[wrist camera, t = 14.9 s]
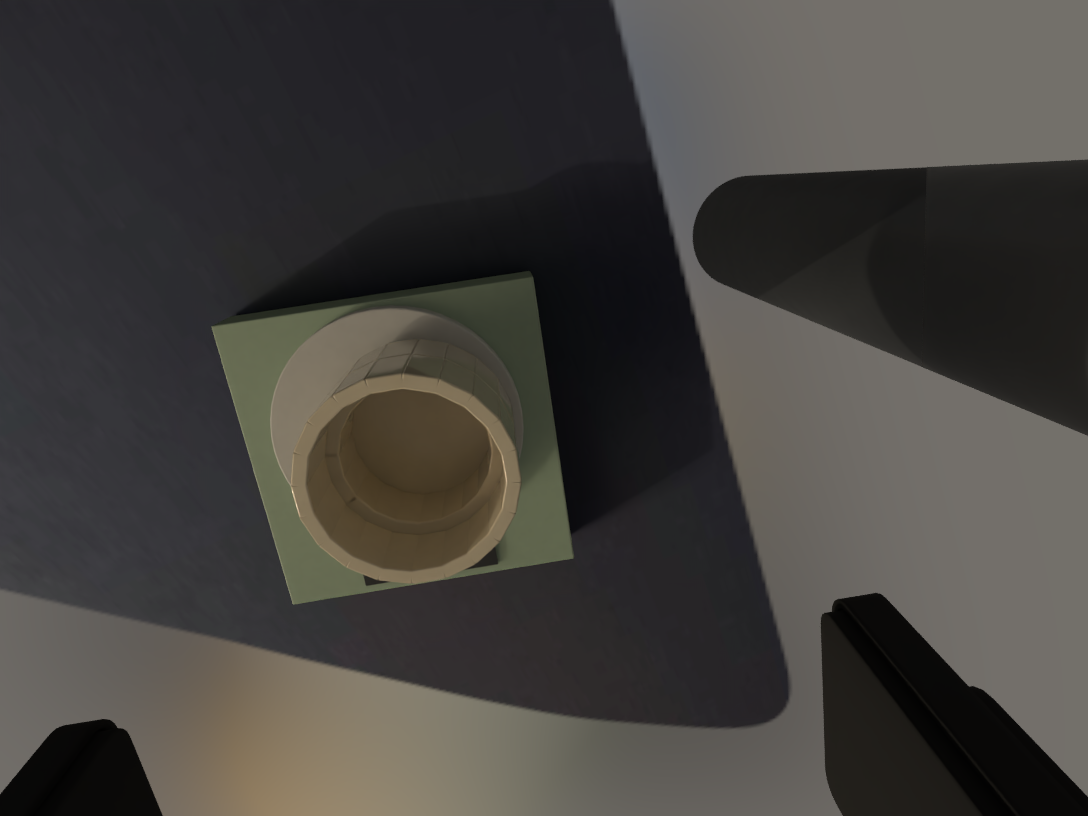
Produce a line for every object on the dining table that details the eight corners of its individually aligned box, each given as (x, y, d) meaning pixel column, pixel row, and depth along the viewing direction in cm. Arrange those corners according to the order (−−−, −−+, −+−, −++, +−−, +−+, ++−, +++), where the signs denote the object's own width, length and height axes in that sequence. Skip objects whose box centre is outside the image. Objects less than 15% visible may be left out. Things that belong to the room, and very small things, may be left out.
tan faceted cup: (498, 323, 26) (501, 357, 21) (527, 493, 28) (535, 564, 23) (310, 352, 26) (264, 394, 20) (353, 522, 28) (321, 599, 23)
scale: (530, 270, 28) (534, 278, 25) (569, 536, 32) (575, 565, 29) (229, 316, 28) (204, 329, 25) (304, 579, 31) (288, 613, 29)
